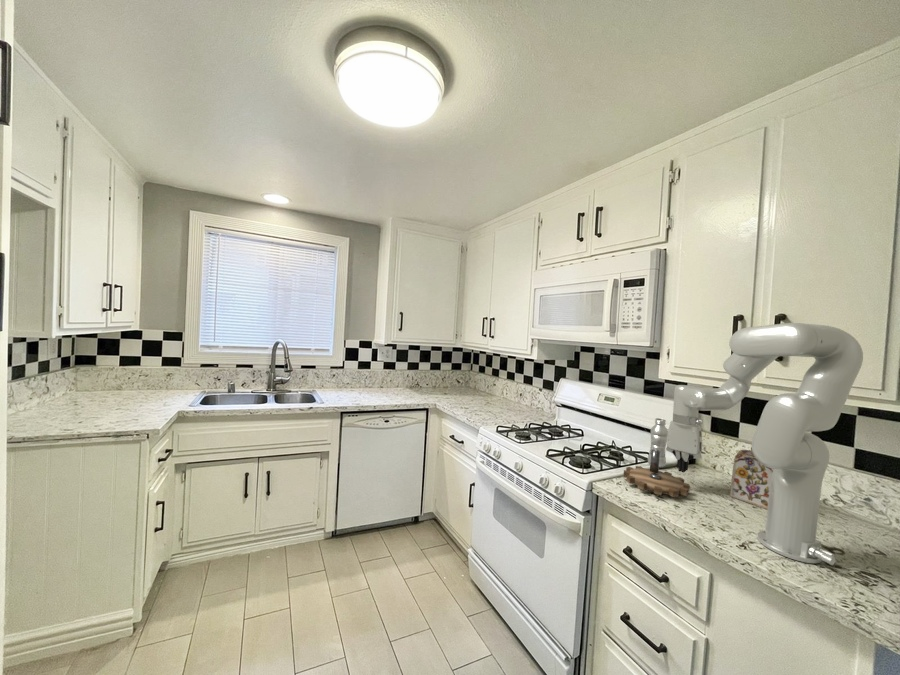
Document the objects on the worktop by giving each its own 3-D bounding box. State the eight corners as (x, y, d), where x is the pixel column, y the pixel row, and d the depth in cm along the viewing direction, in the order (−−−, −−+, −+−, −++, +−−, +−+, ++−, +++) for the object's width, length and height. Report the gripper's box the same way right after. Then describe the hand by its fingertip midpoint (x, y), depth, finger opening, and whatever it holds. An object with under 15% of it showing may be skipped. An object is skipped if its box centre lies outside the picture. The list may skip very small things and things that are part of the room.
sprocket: (694, 503, 114) (697, 472, 114) (623, 486, 123) (626, 458, 123) (683, 479, 133) (686, 453, 133) (623, 467, 142) (625, 442, 141)
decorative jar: (772, 512, 115) (778, 457, 114) (728, 496, 124) (733, 446, 124) (782, 503, 122) (787, 452, 121) (739, 489, 131) (744, 441, 131)
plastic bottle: (644, 462, 153) (648, 416, 152) (661, 464, 152) (665, 418, 151) (650, 468, 147) (655, 420, 146) (668, 470, 146) (672, 422, 145)
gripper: (713, 423, 123) (710, 475, 123) (665, 414, 135) (662, 462, 135) (707, 425, 119) (704, 480, 118) (658, 416, 130) (655, 466, 130)
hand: (682, 471), depth 127 cm, fingers closed
